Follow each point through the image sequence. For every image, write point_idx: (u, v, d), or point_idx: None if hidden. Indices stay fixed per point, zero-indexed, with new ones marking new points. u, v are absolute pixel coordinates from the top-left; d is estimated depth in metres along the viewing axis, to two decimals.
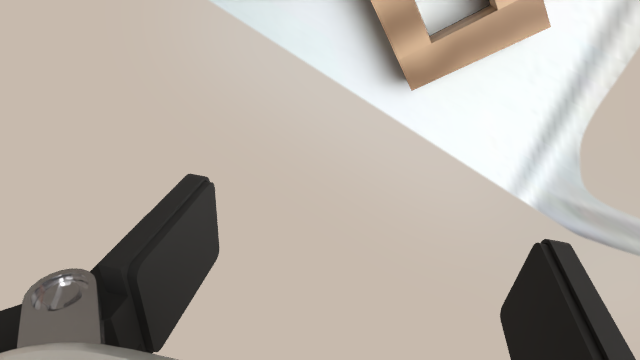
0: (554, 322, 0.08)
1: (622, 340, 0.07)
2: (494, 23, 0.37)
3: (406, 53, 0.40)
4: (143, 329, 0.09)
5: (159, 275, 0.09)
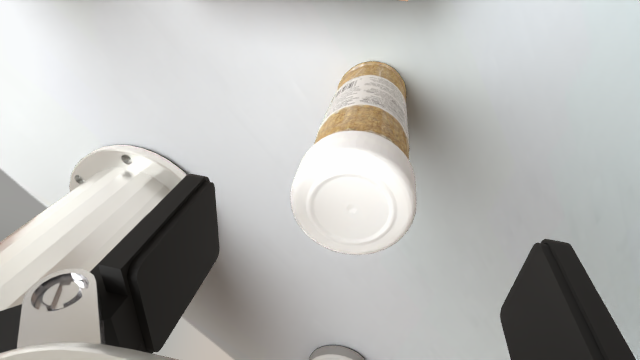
0: (554, 322, 0.08)
1: (622, 340, 0.07)
2: None
3: None
4: (143, 329, 0.09)
5: (159, 275, 0.09)
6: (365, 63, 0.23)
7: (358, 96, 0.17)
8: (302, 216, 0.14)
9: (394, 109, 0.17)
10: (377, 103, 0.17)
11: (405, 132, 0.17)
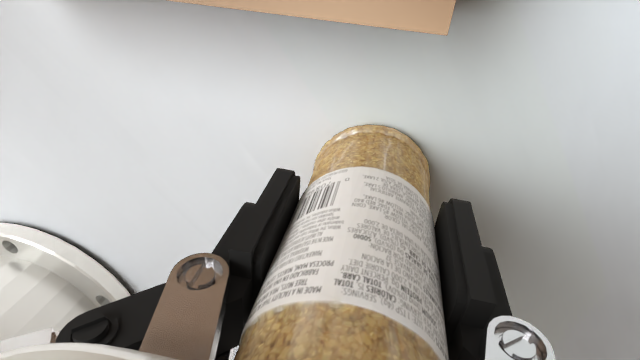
0: (444, 265, 0.10)
1: (486, 272, 0.08)
2: None
3: None
4: None
5: (269, 261, 0.09)
6: (360, 129, 0.13)
7: (332, 256, 0.08)
8: None
9: (415, 295, 0.07)
10: (376, 289, 0.07)
11: None
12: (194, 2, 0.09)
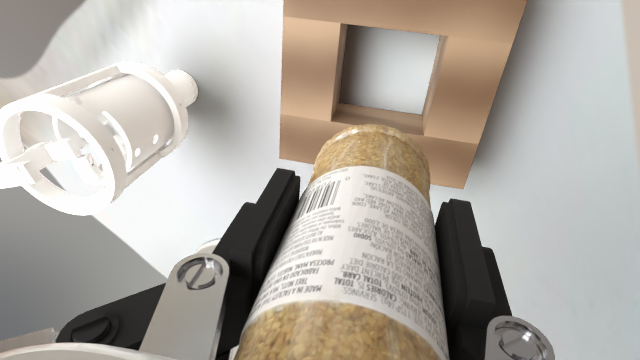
0: (444, 265, 0.10)
1: (486, 272, 0.08)
2: (353, 6, 0.23)
3: (492, 45, 0.22)
4: None
5: (270, 260, 0.09)
6: (360, 128, 0.13)
7: (332, 254, 0.08)
8: None
9: (416, 294, 0.07)
10: (376, 287, 0.07)
11: None
12: None
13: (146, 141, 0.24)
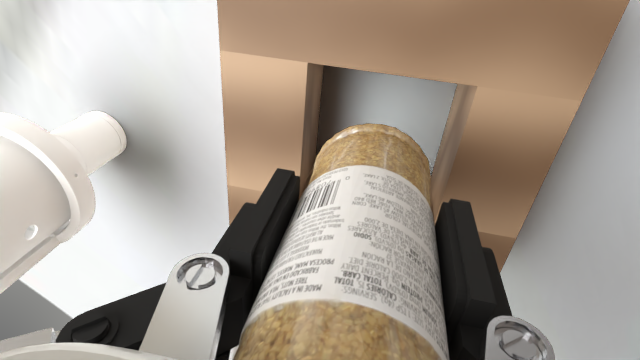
0: (444, 265, 0.10)
1: (486, 272, 0.08)
2: (326, 37, 0.14)
3: (548, 102, 0.14)
4: None
5: (270, 260, 0.09)
6: (360, 127, 0.13)
7: (332, 254, 0.08)
8: None
9: (415, 293, 0.07)
10: (375, 287, 0.07)
11: None
12: None
13: (9, 241, 0.16)
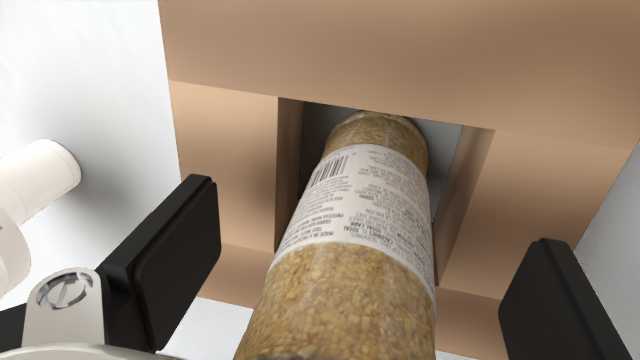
0: (550, 320, 0.08)
1: (617, 337, 0.07)
2: (300, 66, 0.11)
3: (587, 152, 0.11)
4: (147, 328, 0.09)
5: (163, 274, 0.09)
6: (366, 113, 0.15)
7: (341, 210, 0.09)
8: None
9: (408, 241, 0.09)
10: (376, 233, 0.09)
11: (429, 292, 0.09)
12: None
13: None
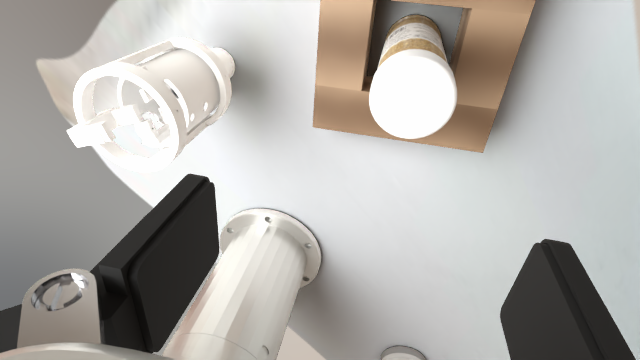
0: (554, 322, 0.08)
1: (622, 340, 0.07)
2: None
3: (512, 16, 0.25)
4: (143, 329, 0.09)
5: (159, 275, 0.09)
6: (409, 16, 0.29)
7: (410, 33, 0.23)
8: (377, 109, 0.20)
9: (437, 43, 0.23)
10: (425, 37, 0.23)
11: (446, 59, 0.23)
12: (408, 140, 0.31)
13: (199, 108, 0.27)
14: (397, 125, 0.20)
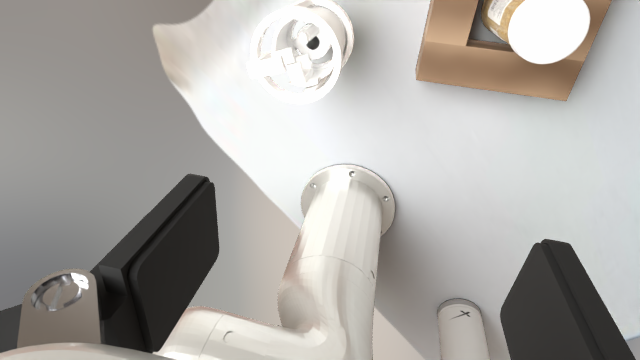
0: (554, 322, 0.08)
1: (622, 340, 0.07)
2: None
3: None
4: (143, 329, 0.09)
5: (159, 275, 0.09)
6: None
7: None
8: (521, 37, 0.25)
9: None
10: None
11: None
12: (500, 91, 0.36)
13: None
14: (535, 51, 0.25)
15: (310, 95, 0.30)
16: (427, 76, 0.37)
